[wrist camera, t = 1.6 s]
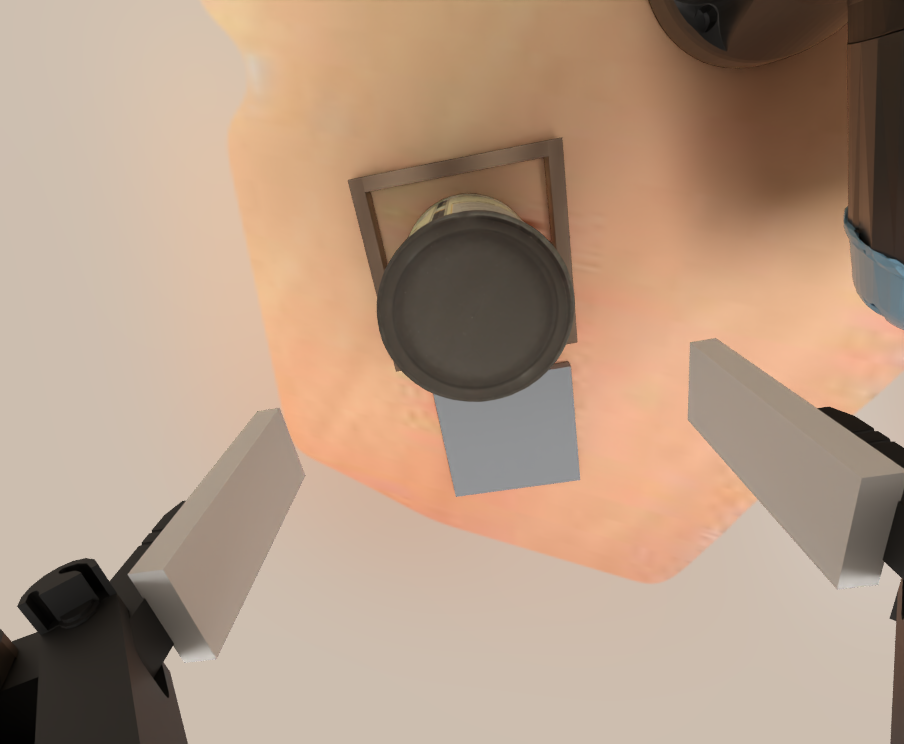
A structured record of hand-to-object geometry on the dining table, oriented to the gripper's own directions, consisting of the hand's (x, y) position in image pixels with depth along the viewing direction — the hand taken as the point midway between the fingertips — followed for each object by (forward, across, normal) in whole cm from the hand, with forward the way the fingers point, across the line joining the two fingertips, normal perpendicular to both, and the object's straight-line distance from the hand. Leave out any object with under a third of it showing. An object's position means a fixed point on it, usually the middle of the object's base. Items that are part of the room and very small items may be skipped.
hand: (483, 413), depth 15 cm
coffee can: (+24, 0, 0) cm, 24 cm away
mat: (+24, +1, -16) cm, 29 cm away
